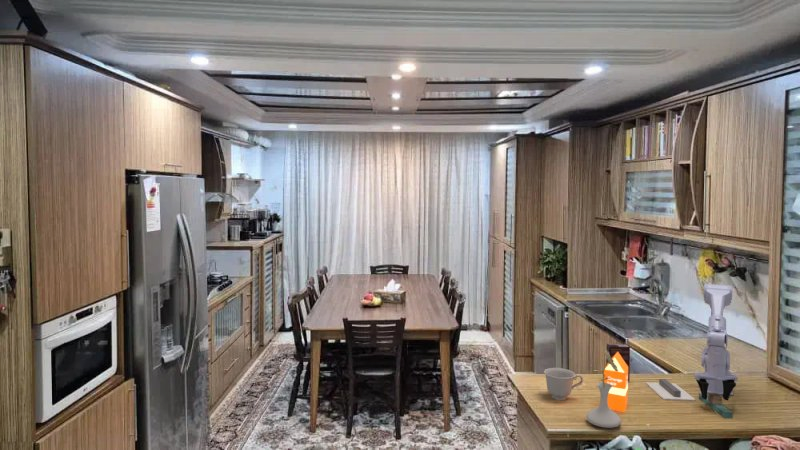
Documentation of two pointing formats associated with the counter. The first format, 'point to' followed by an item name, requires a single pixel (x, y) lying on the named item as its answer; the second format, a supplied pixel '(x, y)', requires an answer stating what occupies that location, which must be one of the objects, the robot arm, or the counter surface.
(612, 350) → the supplement box
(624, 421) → the counter surface
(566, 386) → the teacup
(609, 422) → the flower in vase
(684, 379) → the counter surface
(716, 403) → the bar
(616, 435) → the counter surface
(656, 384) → the ridge board
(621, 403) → the orange juice
